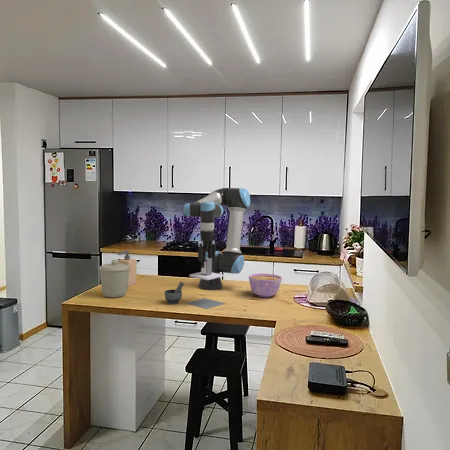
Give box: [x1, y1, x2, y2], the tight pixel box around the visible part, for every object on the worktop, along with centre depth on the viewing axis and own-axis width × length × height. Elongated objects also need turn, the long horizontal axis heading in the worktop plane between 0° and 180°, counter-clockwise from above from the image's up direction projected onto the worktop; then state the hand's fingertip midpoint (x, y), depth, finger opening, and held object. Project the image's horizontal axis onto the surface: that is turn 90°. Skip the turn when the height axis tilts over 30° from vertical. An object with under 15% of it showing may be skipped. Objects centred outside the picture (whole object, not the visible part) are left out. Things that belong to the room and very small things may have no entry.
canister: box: [97, 259, 131, 299], centre depth 258 cm, size 18×18×21 cm
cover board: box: [189, 257, 224, 280], centre depth 244 cm, size 13×13×10 cm
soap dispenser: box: [117, 250, 138, 288], centre depth 285 cm, size 13×9×22 cm
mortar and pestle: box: [164, 281, 185, 305], centre depth 245 cm, size 11×9×12 cm
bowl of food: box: [248, 273, 283, 298], centre depth 268 cm, size 20×20×12 cm
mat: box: [185, 297, 227, 310], centre depth 246 cm, size 16×16×1 cm
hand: (206, 272), depth 244 cm, fingers closed on cover board, 4 cm apart
